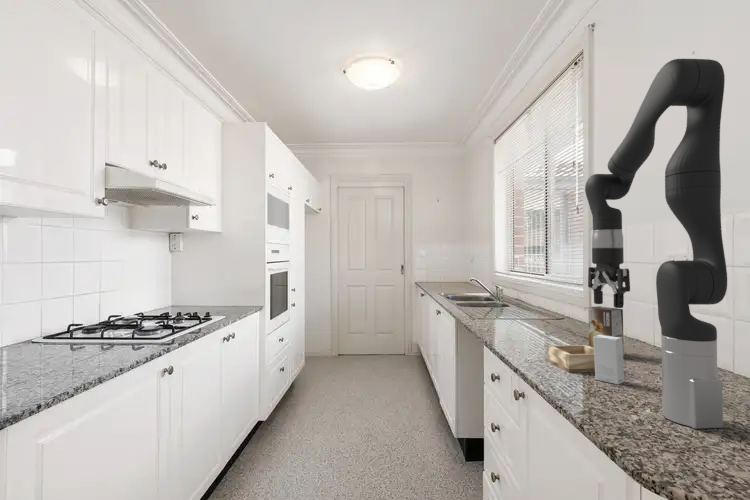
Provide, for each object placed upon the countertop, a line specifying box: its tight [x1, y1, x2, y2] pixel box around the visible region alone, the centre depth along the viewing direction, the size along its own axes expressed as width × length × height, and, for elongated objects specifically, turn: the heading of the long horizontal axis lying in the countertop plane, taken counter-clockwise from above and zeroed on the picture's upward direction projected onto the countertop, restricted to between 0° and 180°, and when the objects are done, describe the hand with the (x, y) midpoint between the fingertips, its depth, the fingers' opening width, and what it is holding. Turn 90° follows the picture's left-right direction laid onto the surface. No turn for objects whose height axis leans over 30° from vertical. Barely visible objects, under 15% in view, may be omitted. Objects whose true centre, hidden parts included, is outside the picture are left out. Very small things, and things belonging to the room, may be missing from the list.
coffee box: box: [587, 305, 625, 357], centre depth 140 cm, size 9×6×16 cm
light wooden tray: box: [546, 344, 595, 373], centre depth 125 cm, size 13×13×5 cm
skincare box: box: [593, 335, 625, 385], centre depth 110 cm, size 6×4×12 cm
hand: (608, 305), depth 110 cm, fingers open, 8 cm apart
